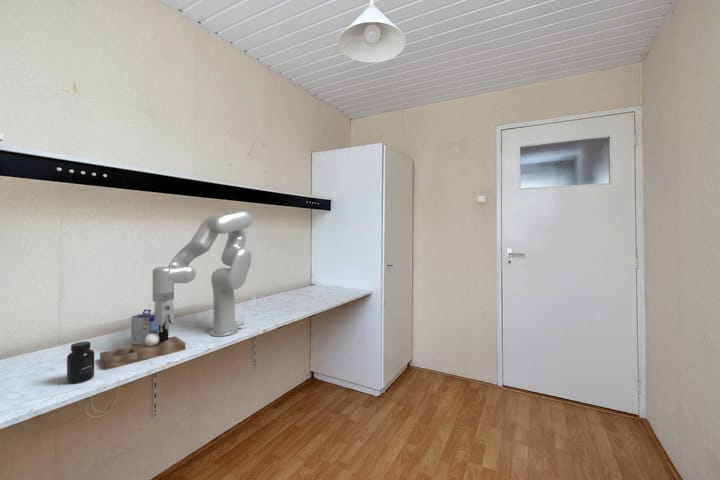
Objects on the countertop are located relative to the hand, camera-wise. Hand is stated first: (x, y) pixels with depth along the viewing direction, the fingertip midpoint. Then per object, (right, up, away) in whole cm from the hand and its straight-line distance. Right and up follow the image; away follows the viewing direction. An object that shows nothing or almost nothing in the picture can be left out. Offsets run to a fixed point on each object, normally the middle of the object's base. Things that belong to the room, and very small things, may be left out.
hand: (163, 340), depth 130 cm
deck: (-4, -4, -5) cm, 8 cm away
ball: (-3, +1, -3) cm, 4 cm away
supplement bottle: (-11, -5, -26) cm, 28 cm away
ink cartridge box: (-14, -4, +9) cm, 17 cm away
